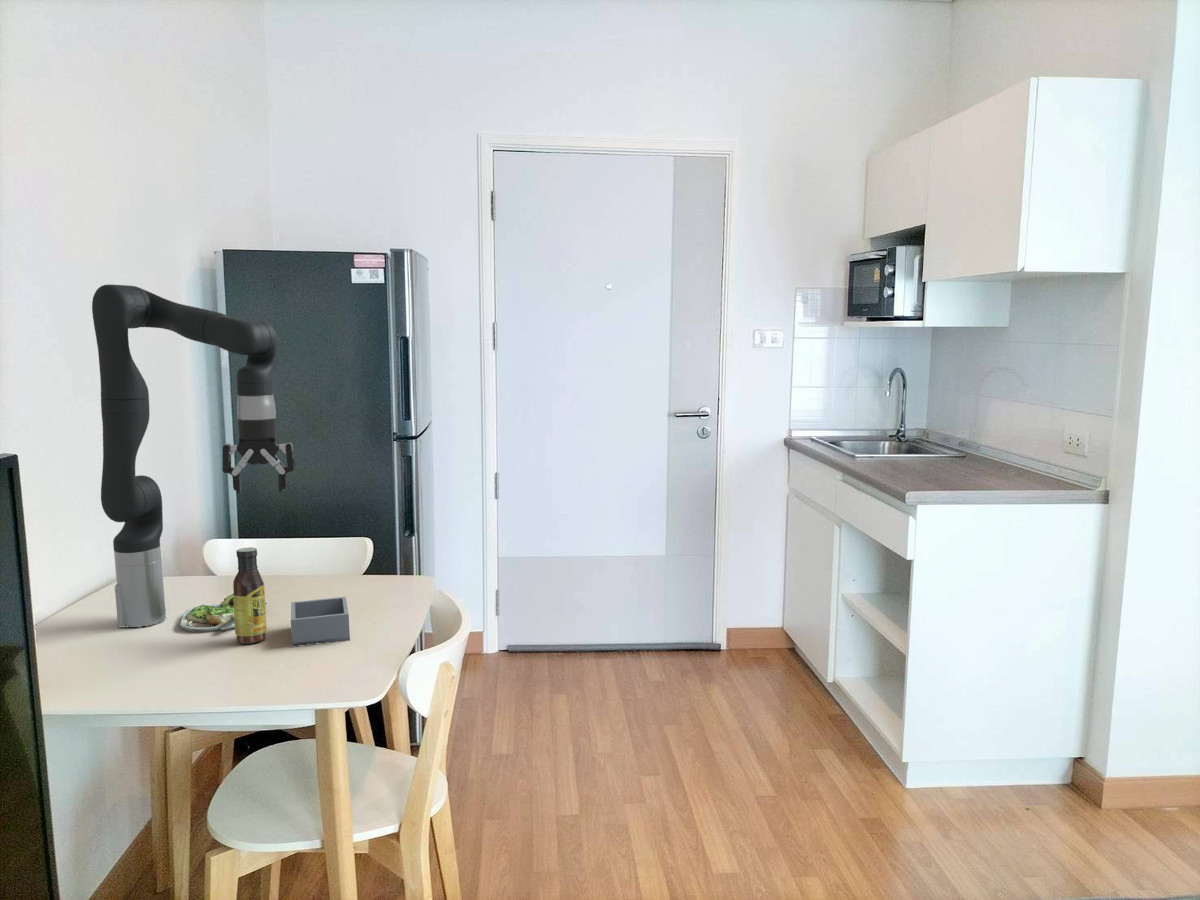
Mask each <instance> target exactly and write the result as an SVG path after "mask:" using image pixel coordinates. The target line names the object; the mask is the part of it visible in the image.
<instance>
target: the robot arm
mask: <svg viewBox="0 0 1200 900" xmlns="http://www.w3.org/2000/svg"><path fill="white" fill-rule="evenodd" d="M91 309H92V310H91V311H92V312H91V314H92V320H93V327H94V332H95V333H94V334H95V337H96V345H97V346H96V347H97V354H98V366H99V376H100V377H99V378H100V409H101V411H100V412H101V421H102V473H101V483H100V484H101V485H100V502H101V507H102V510H103V512H104V513H105V515H106V517H107V518H108V519H109V520H111V521H113V522H115V523H124V524H123V526H122V528H121V530H120V531H119V532H118V533H117V534H116V535H115V536H114V538H113V541H112V543H113V545H112V546H113V552H114V553H113V555H114V567H115V577H116V578H115V579H116V584H115V585H114V594H115V605H116V617H117V627H118V626H128V627H138V628H143V627H142V626H146V627H149V626H148V625H151V626H154V625H157V624H160V623H162V622H164V621H165V620H166V619H165V618H167V613H166V611H167V609H166V602H165V587H164V575H163V565H162V562H163V561H162V551H161V536H162V534H163V531H164V530H163V527H164V521H163V518H164V517H163V514H164V513H163V499H162V498H163V497H162V492H161V489H160V487H159V485H158V484H157V482H156V480H154V479H153V478H151V477H150V476H147V475H136V460H137V455H138V451H139V450H140V446H141V444H142V442H143V439H144V437H145V435H146V431H147V429H148V426H149V422H150V414H151V413H150V398H149V397H150V395H149V394H150V393H149V388H148V385H147V383H146V380H145V379H144V377H143V375H142V373H141V372H140V370H139V368H138V366H137V364H136V363H135V360H134V359H133V357H132V354H131V349H130V341H129V329H138V328H154V329H155V328H156V329H163V330H167V331H171V332H174V333H176V334H178V335H180V336H181V337H184V338H185V339H188V340H191V341H195V342H199V343H202V344H206V345H209V346H215V347H218V348H220V349H223V350H224V351H227V352H229V353H232V354H236V355H241V356H247V358H246V363H245V365H244V366H242V367H241V368H239V369H238V370H237V371H236V393H237V400H236V401H237V402H236V411H237V414H236V415H237V432H238V435H237V436H238V444H231V443H226V444H225V445H223V446H222V472H223V473H224V474H229V475H231V476H232V488H233V490H234V491H236V494H240V493H242V492H243V485H242V484H243V481H242V473H241V472H242V470H243V469H244V468H245V466H247V464H249V465H257V464H259V465H267V464H270V466H272V467H273V468H275V469H274V470H276V471H277V472H278V475H277V479H278V491H279V493H282V492H284V491H285V489H287V487H288V482H287V481H288V479H287V475H288V473H290V472H293V471H294V470H295V469H296V461H295V460H296V459H295V451H294V450H295V449H294V444H293V443H292V442H290V441H289V442H287V443H279V441H278V439H277V438H278V437H277V417H276V416H277V411H276V402H275V399H274V398H275V397H274V382H273V380H274V379H273V374H274V370H275V369H274V368H275V364H276V359H277V354H278V346H279V344H278V342H279V340H278V336H277V332H276V330H275V328H274V327H273V326H272V325H271V324H270V323H269V322H266V321H263V320H241V319H234V318H231V317H230V316H229V315H227V314H224V313H222V312H218V311H213V310H209V309H205V308H201V307H195V306H190V305H186V304H182V303H178V302H175V301H172V300H169V299H167V298H164V297H162V296H159V295H157V294H155V293H153V292H151V291H149V290H146V289H144V288H141V287H138V286H137V285H125V284H103V285H101V286H100V287H98V288H97V289H96V290H95V292H94V294H93V297H92V302H91ZM279 450H281V451H282V453H283V454H285V455H286V456H285V457H286V466H285V465H284V463H282V462H281V460H280V459H279V458H278V456H277V455H276V454H277V453H278V452H279ZM235 451H237V452H238V454H239V455H240V456H241V459H240V460H239V462H238V463H237V464H236V465H235V467H233V466H232V455H234V454H235ZM164 619H165V620H164ZM163 620H164V621H163ZM159 622H160V623H159ZM153 624H154V625H153ZM128 627H127V628H128Z"/></svg>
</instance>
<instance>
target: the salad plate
mask: <svg viewBox="0 0 1200 900" xmlns="http://www.w3.org/2000/svg"><path fill="white" fill-rule="evenodd" d="M266 605H267V602H265V606H266ZM190 621H195V622H194V623H199V622H208V623H207V624H209V626H207V627H201V626H200V627H198V626H193V625H192V626H193V627H192V626H190V624H189V622H190ZM210 625H212V627H211V626H210ZM179 626H180V628H182V629H184V630H186V631H189V632H191V631H192V633H212V631H213V632H221V631H222V632H223V631H224V630H225V631H229V630H233V628H234V629H235V620H234V600H233V593H232V594H230V595H227V596H226V597H225V598H224V599H223V601H222V602H220V603H217V604H201V605H199V606H195V607H192V608H190V609H188V610H186V611H185V612H184V613H183V614H182V617H181V620H180V624H179Z"/></svg>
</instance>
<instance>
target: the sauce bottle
mask: <svg viewBox="0 0 1200 900" xmlns="http://www.w3.org/2000/svg"><path fill="white" fill-rule="evenodd" d="M257 556H258V550H257V548H256V547H242V548H238V549H237V550H236V557H237V570H238V572H237V574H236V575H235V577H234V579H233V584H232V587H233V589H232V590H233V593H232V594H233V600H234V620H235V628H234V632H235V637H236V642H237V643H238V644H241V645H252V644H257V643H260V642H263V641H264V640H265V639H266V637H267V631H268V629H267V611H266V609H267V608H266V605H265V603H266V591H265V588H266V587H265V583H264V580H263V578H262V576H261V573H260V571H259V569H258V563H257V562H258V559H257Z"/></svg>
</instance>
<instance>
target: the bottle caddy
mask: <svg viewBox="0 0 1200 900" xmlns="http://www.w3.org/2000/svg"><path fill="white" fill-rule="evenodd" d="M290 605H291V606H290V627H291V628H290V631H291V632H290V633H291V646H297V647H299V646H298V645H305V646H308V645H307V644H313V645H317V644H316V643H322V644H327V643H326V642H330V643H336V641H339V642H347V641H351V637H350V636H351V635H350V613H349V608H348V602H347V596H340V597H331V598H320V599H312V600H311V599H309V600H300V601H291V603H290ZM346 640H347V641H346Z"/></svg>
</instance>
